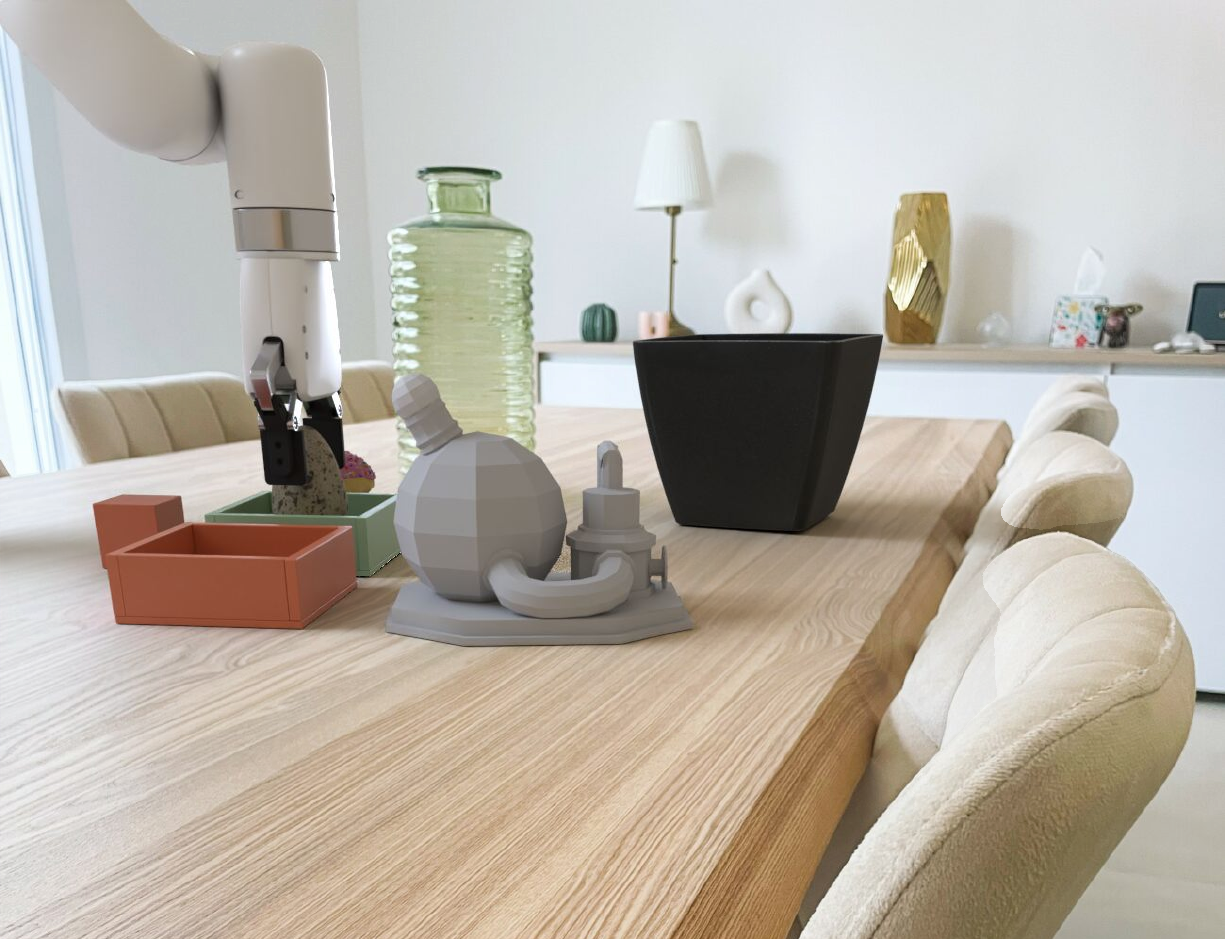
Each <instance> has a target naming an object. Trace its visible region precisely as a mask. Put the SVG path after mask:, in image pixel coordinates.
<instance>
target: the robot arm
mask: <svg viewBox="0 0 1225 939" xmlns="http://www.w3.org/2000/svg"><path fill="white" fill-rule="evenodd" d="M0 27H1V28H2V29H3V31H4V32H5V33H6V34H7V36H8V37H9V38H10V40H11V41H12V42H13V43H14V45H16V47H17V48H18V49H19V50H20V51H21V53H22V54H23V55H24V56H25V57H26V59H27V60H28V61H29V62H30V63H31V64H32V65H33V66H34V67H35V68H36V69H37V70H38V71H39V72H40V73H41V75H43V77H45V78H46V80H48V82H49V83H50V84H51V85H52V86H53V87H54V88H55V89H56V90H57V91H58V92H59V93H60V94H61V95H62V96H63V97H64V98H65V100H66V101H67V102H68V103H69V104H70V105H71V106H72V107H73V108H74V109H75V111H77V112H78V113H79V114H80V115H81V116H82V117H83V118H84V119H85V120H86V121H87V122H88V123H89V124H90V125H91V126H92V127H93V128H94V129H96V130H97V131H98V132H99V133H101V135H103V136H104V137H105V138H107V139H108V140H110V141H112V142H113V143H115V144H117V145H118V146H120V147H122V148H124V149H125V150H128V151H131V152H135V153H138V154H143V155H148V156H151V157H155V158H157V159H160V160H162V161H165V162H170V163H172V164H173V163H174V164H177V165H180V166H181V165H182V166H191V167H192V166H207V165H212V164H219V163H225V162H226V167H227V178H228V187H229V195H230V197H229V198H230V205H231V210H232V211H231V214H232V224H233V233H234V234H233V235H234V245H235V255H236V260H238V261H240V267H239V268H240V270H239V317H240V318H239V319H240V320H239V321H240V322H239V324H240V341H241V356H242V373H243V374H242V375H243V385H244V391H245V393H246V395H247V397H249V398H250V399H251V400H252V401H253V405H254V407H255V409H256V411H257V417H256V418H257V419H256V422H257V428H258V430H259V435H260V448H261V457H262V467H263V478H264V482H265V484H266V485H268V486H272V485H289V486H303V485H305V484H306V483H307V482H308V476H307V464H306V452H305V440H304V430H298V426H300V419H301V420H302V425H305V426H309V427H312V428H313V429H315V430H316V431H317V432H318V433H320V434H321V436H322V437H323V438H324V439H325V441H326V442H327V444H328V445H329V447H330V449H331V450H332V452H333V454H334V457H335V459H336V461H337V464H338V466H339V469H342V468H344V467H345V451H346V450H345V440H344V439H345V438H344V425H343V418H342V417H343V407H342V403H341V400H340V395H341V394H342V392H341V390H342V387H341V386H342V382H343V381H342V378H343V377H342V374H343V373H342V354H341V353H342V352H341V340H340V339H341V338H340V330H339V329H340V328H339V321H338V313H337V304H336V296H335V295H336V294H335V288H334V282H333V275H332V268H331V263H332V262H341V255H340V243H339V242H340V241H339V229H338V227H339V226H338V214H337V199H336V186H335V170H334V157H333V143H332V127H331V115H330V114H331V113H330V100H329V87H328V86H329V84H328V77H327V71H326V67H325V64H324V63H323V60H322V59H321V58H320V56H319V55H318V54H317V53H316V52H315V51H313V50H312V49H309V48H307V47H305V46H303V45H300V44H294V43H290V42H282V41H271V40H270V41H269V40H251V41H250V40H249V41H241V42H236V43H233V44H230V45H228V46H227V47H226V48H224V49H223V50H222V52H221V54H220V55H215V54H207V53H204V52H203V53H202V52H200V51H198V50H195V49H192V48H189V47H186V46H183V45H182V44H180V43H178V42H177V41H175V40H173V39H171V38H169V37H167V36H165V35H163V34H161V33H159V32H157V30H155V29H154V28H153V27H152V26H151V25H150V23H149V22H147V21H146V20H145V19H144V18H143V17H142V16H141V14H139V13H138V11H137V10H136V9H135V8H134V7H133V6H132V5H131V4H130V3H129V2H128V0H0ZM286 405H288V406H287V407H286ZM302 408H303V409H304V412H305V414H306V417H302V418H301V414H302V413H301V412H302Z"/></svg>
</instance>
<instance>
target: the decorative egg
mask: <svg viewBox="0 0 1225 939" xmlns="http://www.w3.org/2000/svg"><path fill="white" fill-rule="evenodd" d="M298 430H304V440H305V452H306V464H307V476H308V482H307V483H306V484H305V485H303V486H289V485H271V491H272V509H273V514H282V515H329V516H348V499H347V493H346V489H345V485H344V481H343V478H342V475H341V472H340V469H339V466H338V464H337V461H336V459H335V457H334V454H333V452H332V450H331V449H330V447H329V445H328V444H327V442H326V441H325V439H324V438H323V437H322V436H321V434H320V433H318V432H317V431H316V430H315V429H313V428H312V427H309V426H305V425H303V424H302V425H299V426H298Z"/></svg>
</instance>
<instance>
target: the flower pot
mask: <svg viewBox="0 0 1225 939" xmlns="http://www.w3.org/2000/svg"><path fill="white" fill-rule="evenodd" d="M883 339H884V334H883V333H831V332H830V333H829V332H828V333H827V332H825V333H823V332H817V333H814V332H812V333H809V332H808V333H806V332H804V333H803V332H801V333H800V332H797V333H796V332H795V333H794V332H793V333H792V332H790V333H789V332H773V333H770V332H768V333H767V332H764V333H763V332H762V333H761V332H759V333H704V334H703V333H697V334H684V335H683V334H682V335H673V336H663V337H654V338H646V339H637V340H633V341H632V348H633V349H632V350H633V357H634V358H633V359H634V365H635V370H636V376H637V377H636V378H637V383H638V389H639V390H638V391H639V394H640V395H639V396H640V400H641V405H642V406H641V407H642V410H643V414H644V420H645V423H646V429H647V433H648V438H649V441H650V445H651V449H652V452H653V457H654V460H655V465H656V468H657V471H658V475H659V478H660V480H661V484H662V487H663V489H664V490H663V491H664V494H665V496H666V499H667V502H668V505H669V509H670V510H671V514H672V517H673V519H674V521H675V523H676V524H678V525H685V526H700V527H716V528H728V529H729V528H730V529H731V528H732V529H744V530H745V529H748V530H766V531H784V532H785V531H787V532H803V531H805V530H807V529H809V528H810V527H812V526H813V525H815V524H817V523H818V522H820V521H821V520H823V519H825V518H827V516H829V515H831V514H832V513H834V511H835V510H836V508H837V505H838V503H839V500H840V498H841V495H842V493H843V490H844V487H845V484H846V481H847V479H848V476H849V474H850V469H851V467H852V464H853V461H854V458H855V454H856V452H857V448H858V445H859V442H860V438H861V435H862V432H863V429H864V425H865V420H866V417H867V413H868V410H869V406H870V403H871V398H872V394H873V390H874V385H875V380H876V375H877V371H878V367H879V360H880V356H881V352H882V346H883V345H882V344H883Z"/></svg>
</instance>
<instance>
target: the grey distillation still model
mask: <svg viewBox="0 0 1225 939" xmlns="http://www.w3.org/2000/svg"><path fill="white" fill-rule="evenodd" d="M391 404H392V406H393V409H394V412H395V413H396V414H397V415H398V416H399V417H400V418H401V419H402V420H403V422H404V425H405V428H406V429H408V431H409V432H410V434H411V435H412V437H413V438H414V440H415V447H416V448H417V449H419V450H420V454H419V455H418V456H417V457H415V458H414V459H413V461H412V464H411V465H410V467H409V468H408V470H407V471H406V473H405V475H404V477H403V478H402V480H401V482H400V484H399V485H398V487H397V491H396V492H397V499H396V506H395V514H394V521H393V522H394V526H395V530H396V534H397V538H398V542H399V545H400V549H401V556H402V557H403V559H404V560H405V562H406V563H407V564H408V565H409V567H410V568H411V570H412V571H413V572H414V574H415V575H416V576H417V577H418V579H419V580H418V581H412V582H411V581H410V582H405V583H402V585H401V586H400V589H399V591H398V593H397V596H396V598H395V600H394V602H393V604H392V606H391V608H390V609H389V611H388V614H387V618H386V621H385V632H386V633H390V634H396V635H403V636H408V637H414V638H419V639H425V640H429V641H435V642H441V643H446V644H451V645H456V646H461V647H462V646H463V647H480V646H481V647H482V646H483V647H485V646H486V647H487V646H555V645H556V646H561V645H562V646H563V645H567V646H569V645H623V644H627V643H630V642H631V643H632V642H635V641H640V640H644V639H648V638H652V637H657V636H661V635H667V634H672V633H677V632H682V631H687V630H692V629H693V628H694V627H693V623H694V622H693V618H691V616H690V614H689V613H688V611H687V609H686V608H685V604H684V601H683V599H682V596H681V595H678V593H677V591H676V589H675V587H674V584H673V583H672V582H671V581H668V568H669V567H668V565H669V562H668V561H669V560H668V549H667V545H666V544H664V545H662V546H661V555H660V558H652V548H653V547H654V546H656V545H657V534H655V533H653V532H650V531H648V530H646V529H645V525H643V524H642V523H640V514H641V513H640V511H641V510H640V504H641V503H640V502H641V490H639V489H637V488H634V487H626V486H624V485H623V484H624V483H623V482H624V481H623V480H624V476H623V475H624V467H623V463H624V462H623V457H622V454H621V451H620V449H619V446H618V445H617V444H616V443H614V442H613V441H612V440H603V441H601V443H599V444H598V445H597V447H596V454H597V455H596V486H595V487H588V488H587V487H586V488H585V489H583V490H582V523H580V524H578V525H577V529H576V530H573V531H571V532H569V533H567V534H566V532H567V526H568V517H567V514H566V508H565V503H564V499H563V493H562V488H561V486H560V485H559V483H558V482H557V479H555V477H554V475H553V474H552V473H551V471H550V469H549V467H547V465H546V463H545V462H544V461H543V459H542V457H540V456H538V455H537V454H536V453H534V452H533V451H532V450H530V449H529V448H527V447H525V446H524V445H523V444H522V443H520V442H518V441H517V440H515V439H514V438H512V437H508V436H505V435H501V434H496V433H491V432H490V433H489V432H484V431H478V430H477V431H472V432H467V433H463V432H464V429H463V428H462V427H460V426H459V422H458V420H457V419H455V418H453V417H452V415H451V413H450V411H449V410H448V408H447V407H446V403H445V402H444V401H443V400H442V398H441V393H440V390H439V388H438V386H437V384H436V383H435V382H434V381H433V379H432V378H431V377H429V376H427V375H425V374H422V373H419V372H410V373H408V374H404V375H402V376H401V377H400V378H399V379H398V380H397V381H396V382H395V383H394V386H393V388H392V390H391ZM623 486H624V487H623ZM564 541H565V545H566V546H567V547H569V548H570V571H569V572H568V571H567V572H565V571H564V572H563V571H561V572H559V571H557V572H553V571H552V569H553V568H554V567H555V564H556V563H557V562H558V560H559V558H560V557H561V555H562V552H563V547H564ZM551 571H552V572H551ZM652 577H660V580H658V579H652Z"/></svg>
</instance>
